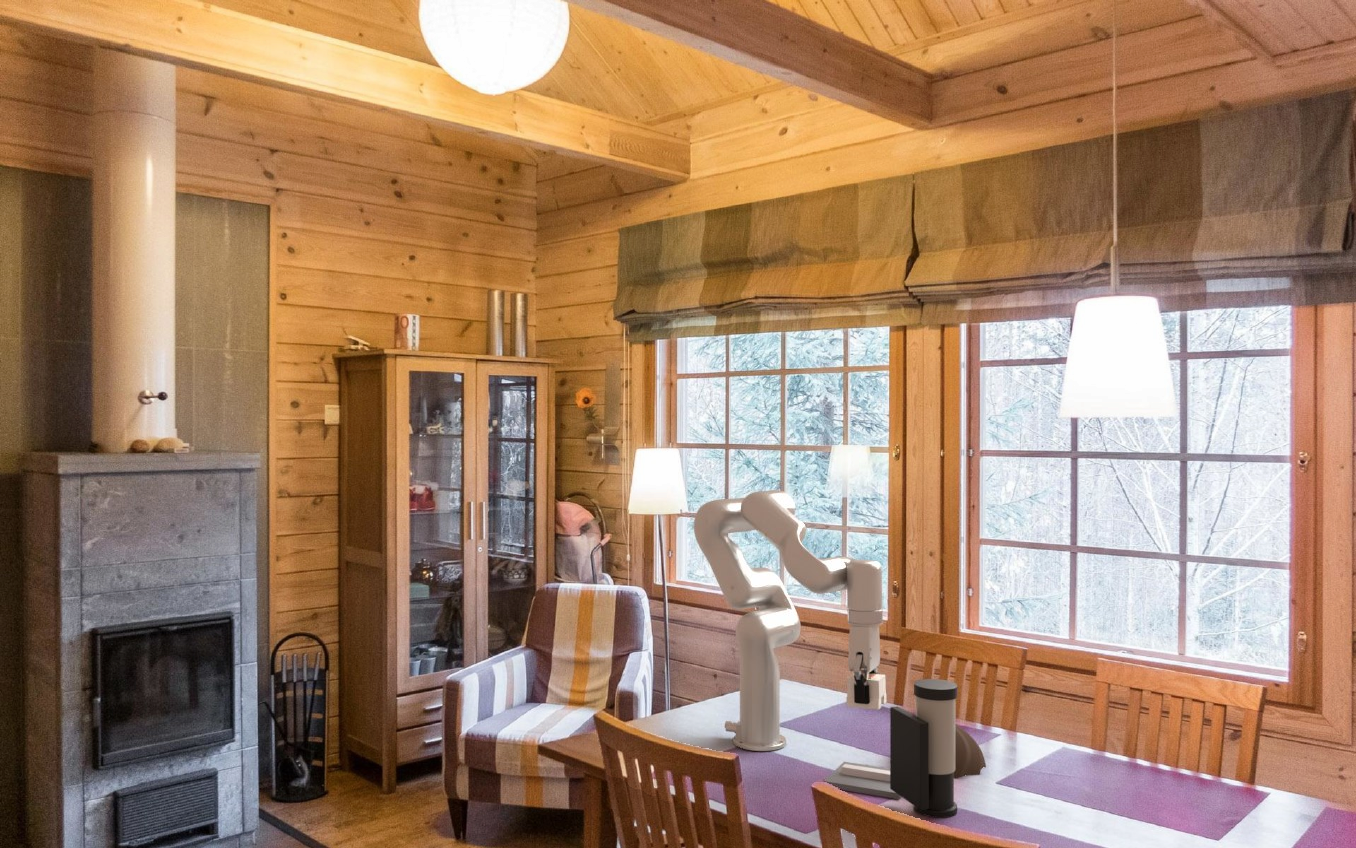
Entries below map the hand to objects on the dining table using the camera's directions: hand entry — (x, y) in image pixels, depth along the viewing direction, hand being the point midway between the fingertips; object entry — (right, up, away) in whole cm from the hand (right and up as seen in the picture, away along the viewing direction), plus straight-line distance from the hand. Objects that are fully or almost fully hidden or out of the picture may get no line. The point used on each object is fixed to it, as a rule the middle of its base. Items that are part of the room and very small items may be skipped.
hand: (866, 698), depth 220 cm
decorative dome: (+18, -17, +7) cm, 26 cm away
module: (0, -1, 0) cm, 1 cm away
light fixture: (+8, -16, -21) cm, 28 cm away
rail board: (0, -16, -5) cm, 17 cm away
